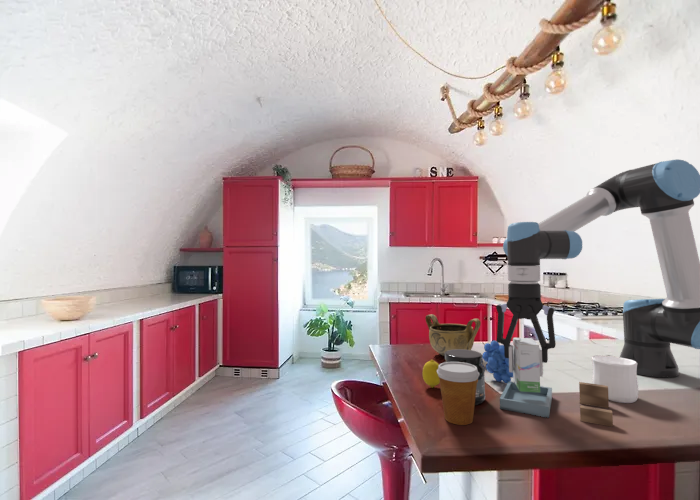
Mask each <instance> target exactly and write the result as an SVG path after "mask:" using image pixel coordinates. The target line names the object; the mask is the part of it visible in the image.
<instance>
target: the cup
mask: <svg viewBox="0 0 700 500" xmlns="http://www.w3.org/2000/svg"><path fill="white" fill-rule="evenodd" d="M590 359H591V362H592V378H591V381H592V383H591V384H598V385H605V386H608V400H609V401H610V402H615V403H622V404H631V403H636V402H637V400H638V397H639V384H638V383H639V381H638V377H637V376H638V374H637V362H636V361H633V360H630V359H626V358H621V357H620V356H613V355H603V354H599V355H598V354H597V355H596V354H595V355H592V356H591V358H590Z"/></svg>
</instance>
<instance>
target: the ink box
mask: <svg viewBox="0 0 700 500" xmlns="http://www.w3.org/2000/svg"><path fill="white" fill-rule="evenodd" d="M512 345H513V353H514V370H513V379H512V380H513V382H515V384H516V386H517V387H518V389H519V391H520V392H538V393H540V386H541V377H540V359H539V348H540V344H539V343H537V342H536V341H535V340H534V339H533V337H512Z"/></svg>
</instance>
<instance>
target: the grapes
mask: <svg viewBox="0 0 700 500" xmlns="http://www.w3.org/2000/svg"><path fill="white" fill-rule="evenodd" d="M483 347H484V348H483V349H484V352H483V353H482V357H483V361H484V362H486V364H485V370H486V371H487V372H488V373H490V374H492V375H493V376H492V377H493V379H494V380H495V381H496V382H503V383H505V384H506V385H507V384H508V382H512V378H513V372H509V358H505V356H504V345H503V344H500V343H498V342H497V340H496V339H495V340H492V341H491V342H490V343H489V342H487V343H485V344H484V346H483Z"/></svg>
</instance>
